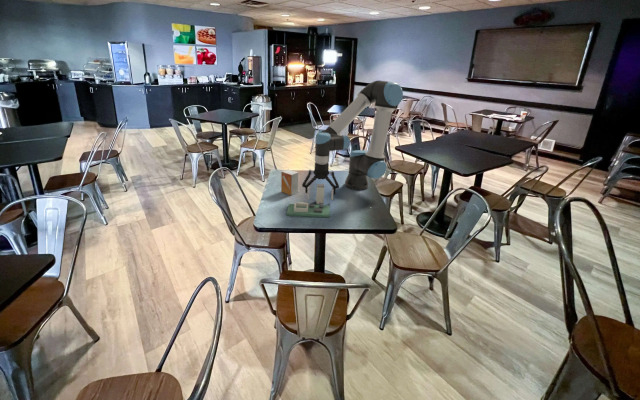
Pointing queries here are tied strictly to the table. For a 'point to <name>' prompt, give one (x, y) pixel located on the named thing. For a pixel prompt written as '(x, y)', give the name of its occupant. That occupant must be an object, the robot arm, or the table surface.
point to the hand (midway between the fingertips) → (320, 198)
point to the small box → (289, 182)
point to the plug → (320, 193)
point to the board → (308, 210)
